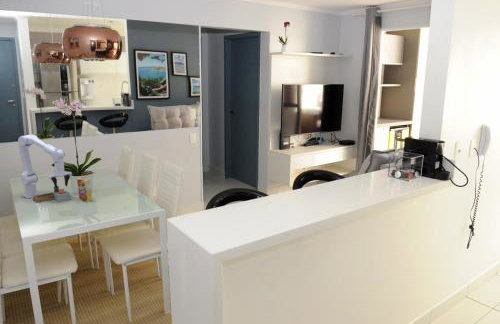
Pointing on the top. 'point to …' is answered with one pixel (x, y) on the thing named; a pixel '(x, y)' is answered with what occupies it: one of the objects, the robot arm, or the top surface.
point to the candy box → (84, 189)
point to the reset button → (61, 191)
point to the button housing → (62, 196)
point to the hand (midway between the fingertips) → (61, 186)
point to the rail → (43, 197)
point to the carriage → (55, 190)
